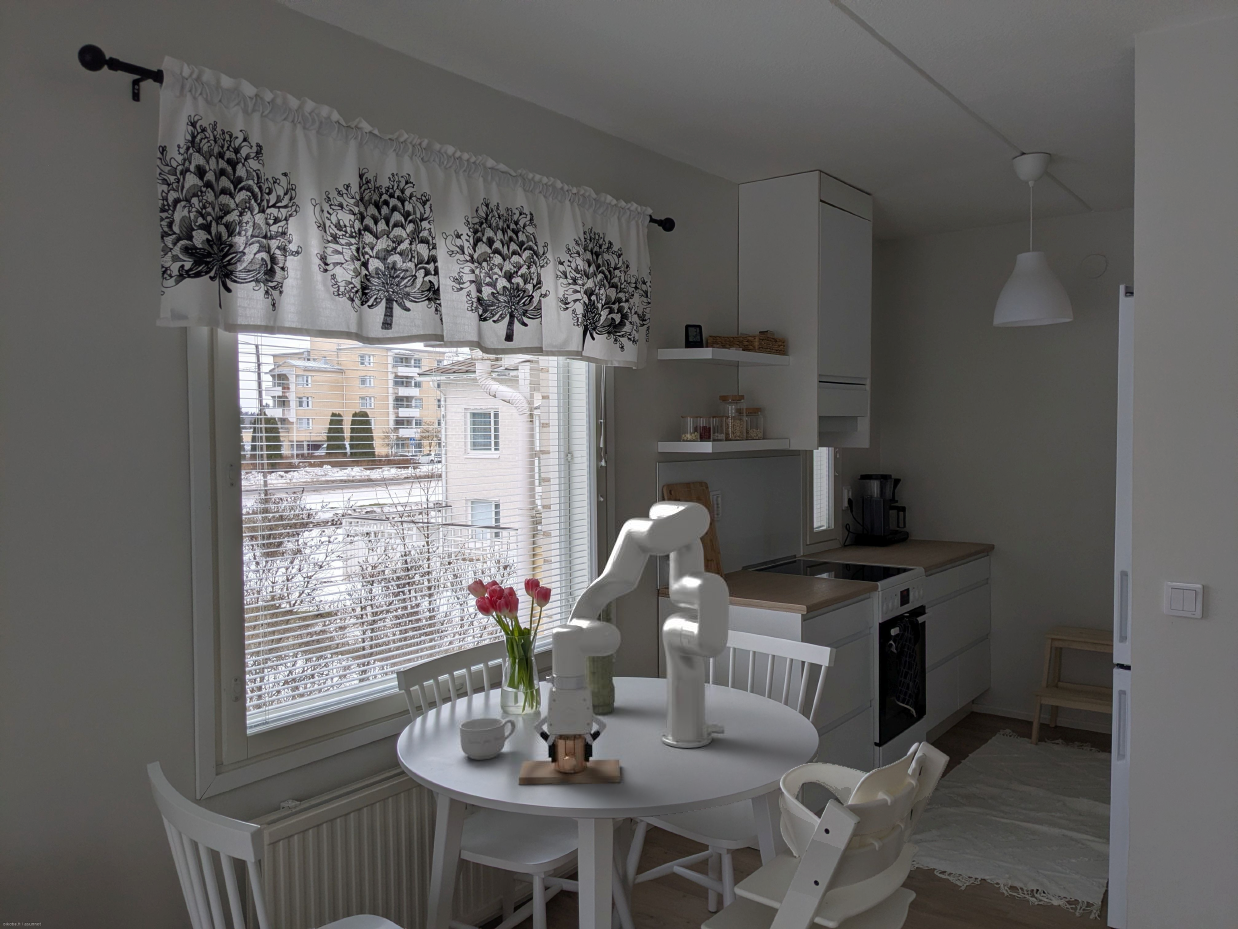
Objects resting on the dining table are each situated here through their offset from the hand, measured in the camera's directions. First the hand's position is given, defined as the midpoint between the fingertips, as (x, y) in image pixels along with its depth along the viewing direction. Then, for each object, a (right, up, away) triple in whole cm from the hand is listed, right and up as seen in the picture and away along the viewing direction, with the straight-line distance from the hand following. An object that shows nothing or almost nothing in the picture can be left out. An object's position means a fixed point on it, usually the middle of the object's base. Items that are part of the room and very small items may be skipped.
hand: (570, 760), depth 192 cm
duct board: (0, -3, 0) cm, 3 cm away
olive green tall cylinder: (+5, -3, +48) cm, 48 cm away
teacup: (-20, -4, +14) cm, 25 cm away
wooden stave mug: (0, -2, -2) cm, 2 cm away
